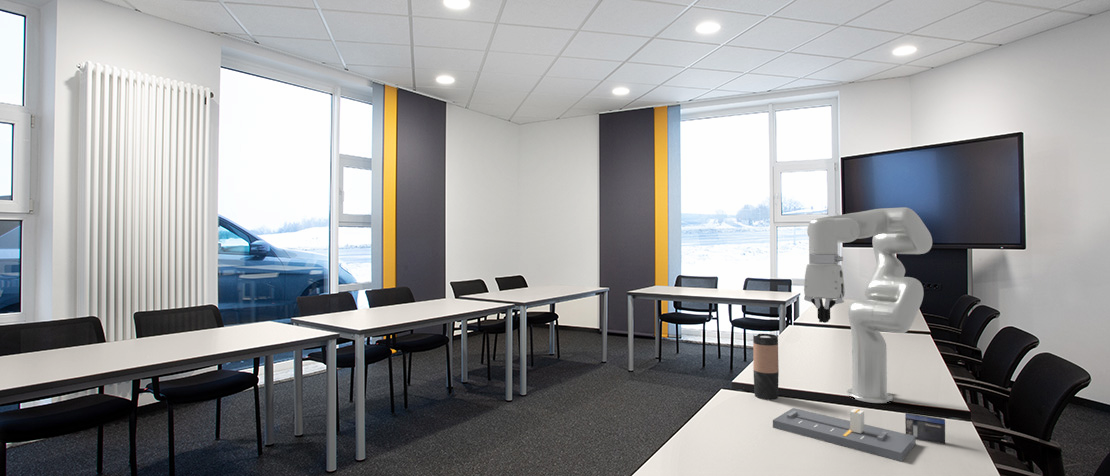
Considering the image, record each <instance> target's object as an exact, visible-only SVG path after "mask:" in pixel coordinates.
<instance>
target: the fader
mask: <svg viewBox="0 0 1110 476" xmlns="http://www.w3.org/2000/svg"><path fill="white" fill-rule="evenodd" d="M849 421H850V431H853V432H857V433H862V432H863V431H864V424H865V410H861V409H859V408H858V409H857V408H852V409H851V410H850V411H849Z"/></svg>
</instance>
